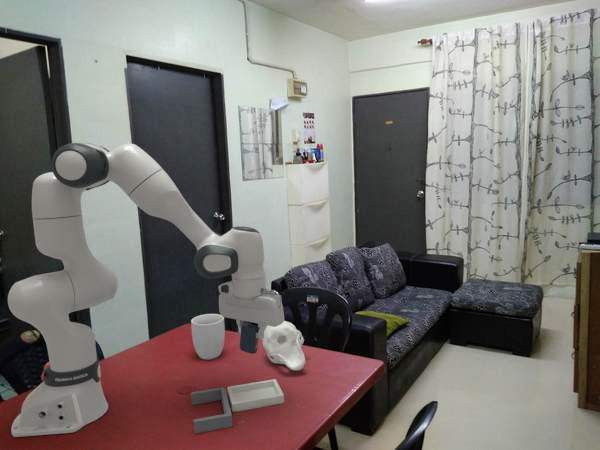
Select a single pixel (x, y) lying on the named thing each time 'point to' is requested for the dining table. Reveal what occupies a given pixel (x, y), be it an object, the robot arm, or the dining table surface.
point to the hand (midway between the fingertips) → (252, 336)
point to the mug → (208, 335)
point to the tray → (255, 395)
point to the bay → (212, 421)
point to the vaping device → (249, 337)
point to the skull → (284, 345)
